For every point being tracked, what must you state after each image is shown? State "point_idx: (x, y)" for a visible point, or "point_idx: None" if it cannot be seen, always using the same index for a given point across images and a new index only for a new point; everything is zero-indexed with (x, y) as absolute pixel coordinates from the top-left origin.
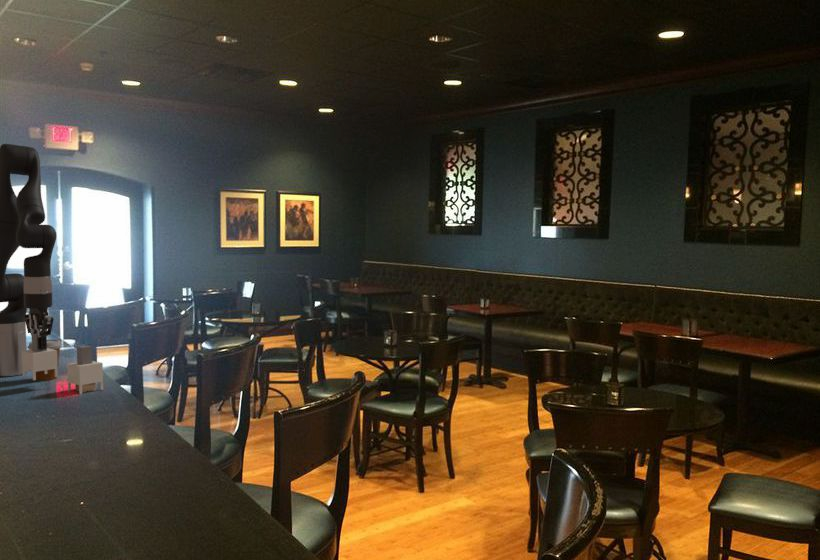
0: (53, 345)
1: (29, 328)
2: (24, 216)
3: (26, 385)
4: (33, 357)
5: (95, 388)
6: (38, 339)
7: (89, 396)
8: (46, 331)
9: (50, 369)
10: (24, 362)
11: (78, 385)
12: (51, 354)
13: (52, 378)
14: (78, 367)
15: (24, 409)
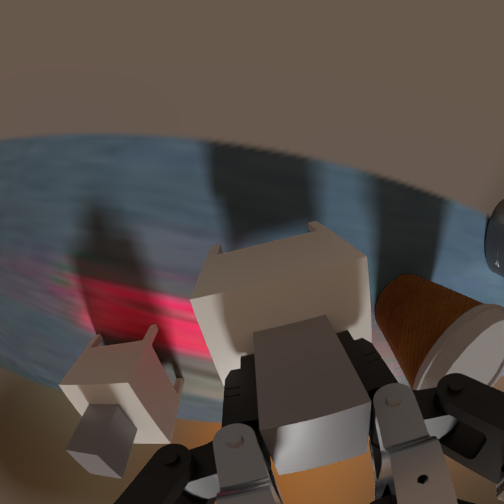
0: None
1: (461, 413)
2: None
3: (346, 233)
4: (194, 289)
5: None
6: (248, 408)
7: (63, 339)
8: (185, 495)
9: (387, 332)
10: (311, 243)
11: None
12: None
13: (376, 320)
14: (65, 382)
15: (6, 178)
